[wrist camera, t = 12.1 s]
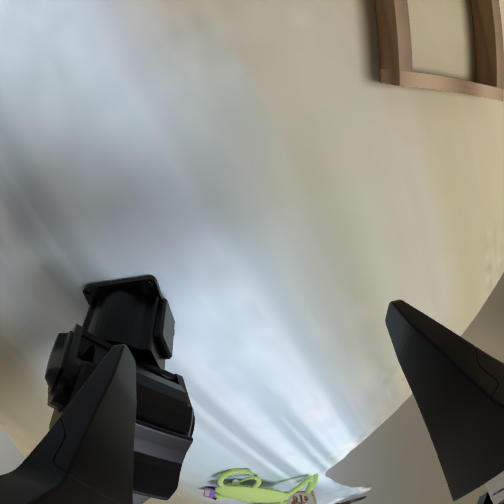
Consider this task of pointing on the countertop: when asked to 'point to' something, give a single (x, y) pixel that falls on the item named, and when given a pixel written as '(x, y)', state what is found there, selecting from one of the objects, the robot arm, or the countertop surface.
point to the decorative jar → (301, 498)
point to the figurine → (253, 489)
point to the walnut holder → (400, 73)
